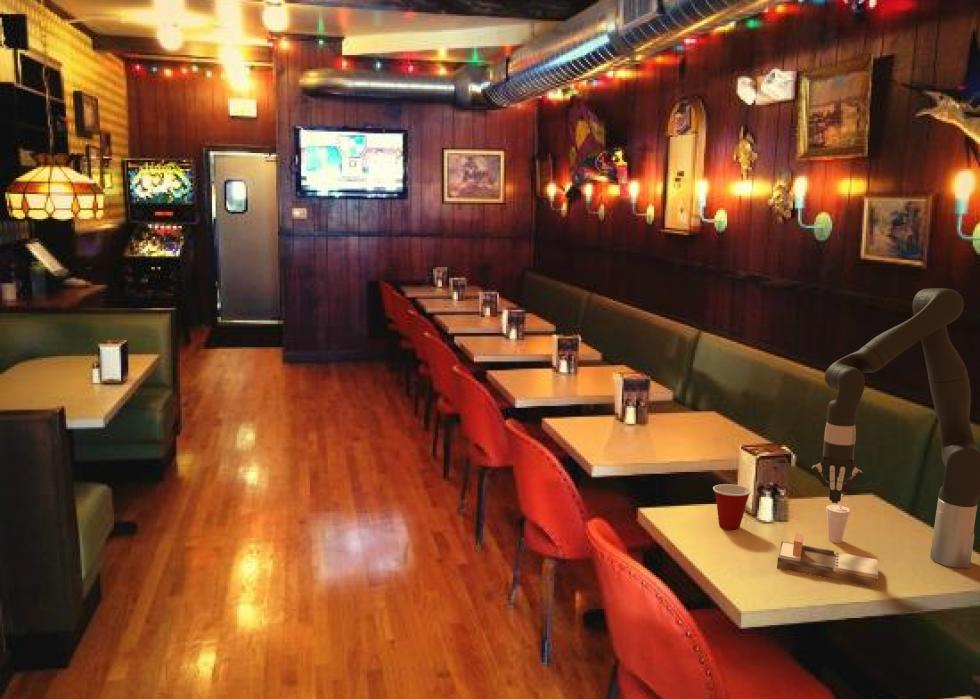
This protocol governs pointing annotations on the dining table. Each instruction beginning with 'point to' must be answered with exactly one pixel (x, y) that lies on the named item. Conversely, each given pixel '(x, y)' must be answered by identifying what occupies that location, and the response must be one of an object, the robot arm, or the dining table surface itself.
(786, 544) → the white orange block
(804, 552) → the mandoline slicer
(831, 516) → the smoothie
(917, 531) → the dining table surface
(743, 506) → the plastic cup
